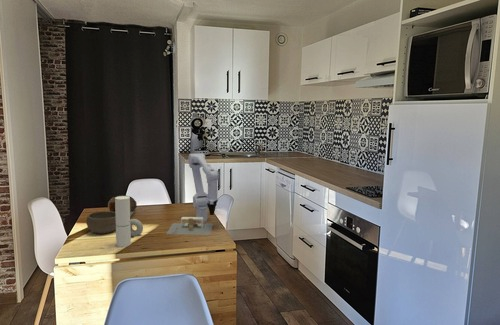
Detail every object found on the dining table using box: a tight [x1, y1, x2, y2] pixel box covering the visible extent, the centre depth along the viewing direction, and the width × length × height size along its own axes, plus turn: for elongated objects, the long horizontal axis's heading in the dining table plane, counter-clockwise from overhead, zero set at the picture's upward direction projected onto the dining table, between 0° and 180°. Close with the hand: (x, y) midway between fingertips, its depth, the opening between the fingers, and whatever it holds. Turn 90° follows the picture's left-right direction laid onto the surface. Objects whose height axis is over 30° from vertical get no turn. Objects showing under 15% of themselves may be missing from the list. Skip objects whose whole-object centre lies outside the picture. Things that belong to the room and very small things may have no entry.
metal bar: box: [171, 226, 178, 235], centre depth 213 cm, size 10×2×1 cm, turn 1°
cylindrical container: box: [115, 195, 132, 248], centre depth 190 cm, size 7×7×25 cm
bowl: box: [86, 210, 116, 235], centre depth 211 cm, size 17×18×10 cm
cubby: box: [165, 216, 214, 236], centre depth 217 cm, size 21×25×6 cm
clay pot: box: [107, 194, 138, 217], centre depth 246 cm, size 15×15×25 cm
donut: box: [130, 218, 144, 237], centre depth 204 cm, size 10×4×10 cm, turn 79°
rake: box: [188, 218, 198, 231], centre depth 218 cm, size 10×6×7 cm, turn 1°
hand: (212, 213), depth 220 cm, fingers open, 7 cm apart
